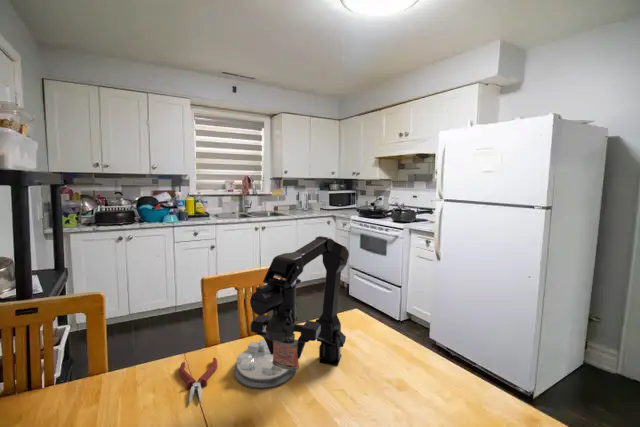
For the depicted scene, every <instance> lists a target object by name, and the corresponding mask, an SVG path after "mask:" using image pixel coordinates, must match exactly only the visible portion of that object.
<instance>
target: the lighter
mask: <svg viewBox="0 0 640 427" xmlns="http://www.w3.org/2000/svg"><path fill="white" fill-rule="evenodd" d="M295 335H296V333H295V332H294V333H293V335H292V337H290V336H288V337H287V338H286V339H285V340H284V341H283V342H278V341H274V340H272V341H273V365H275V366H277V367H280V368H282V369H286V370H292V371H295V370H296V371H297V370H299V368H300V363H299V359H298V339H295V338H296V336H295Z"/></svg>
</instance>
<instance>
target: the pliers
mask: <svg viewBox="0 0 640 427" xmlns="http://www.w3.org/2000/svg"><path fill="white" fill-rule="evenodd" d="M185 368H186V362H185V361H183V362H181V364H180V365H179V369H178V374H179V376H180V378H181V379H182V380H183V381H184V382H185V389H186V390H187V391H188V390H190V391H189V396H188V398H189V400H188V405H189V406H190V405H191V403H192V401H193V398H194V396H195V392H197V398H198V400H199V403H201V402H202V395H203V392H202V391H203V390H202V387H207V386H208V380H209V379H210V378H211V376H213V374H214V373H215V372H216V371H217V369H218V359H217V358H216V357H212V364H211V365H210V367H209V368H208V369H207V370H206V371H205V372H204V373H203V374H202V375H201V376H200V377H199V378H198V379H197V380H196V379H195V378H194V377H193V376H192V375H191V374H190V373H188V371H186V370H185Z"/></svg>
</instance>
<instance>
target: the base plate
mask: <svg viewBox="0 0 640 427" xmlns="http://www.w3.org/2000/svg"><path fill="white" fill-rule="evenodd" d="M296 372H297V370H295V371H292V370H291V371H290V372H289V373H288V374H287V375H285V376H284V377H282V378H280V379H277V380H274V381H270V382H253V381H249V380H246V379H244V378H243V377H241V376H240V375H239V373H238V371H237V362H236V363H235V365H234V366H233V376H234V379H235V380H236V381H237V383H238V384H240V385H242V386H243V387H246V388H247V389H248V388H249V389H253V390H268V389H273V388H277V387H279V386H282V385H284V384H287V382H289V381H290V380H291V379H292V378H293V377H294V376H295V375H296Z"/></svg>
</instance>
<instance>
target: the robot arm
mask: <svg viewBox="0 0 640 427" xmlns="http://www.w3.org/2000/svg"><path fill="white" fill-rule="evenodd" d="M319 256H321V257H322V264H323V266H324V269H325V271H326V273H325V281H324V283H325V284H324V291H323V301H322V302H323V303H322V310H321V311H322V312H321V315H320V316H319V317H318V318H317V319H315V321H314V320H306V321H305V323H304V324H298V323H297V321H298V316H297V307H298V302H297V285H298V284H301V282H302V280H301V279H300V278H298V277H299V276H300V275H301V274H303V272H304V268H305V266H306V265H308V264H309V263H310V262H312V261H314V260H315V259H317V258H318V257H319ZM349 256H350V253H349V250H348V249H347V247H346V246H344V245H342V244H341V243H339V242H336V241H335V240H334V239H333V238H331V237H329V236H322V235H319V236H316V237H315V238H314V240H312V241H310V242H309V243H307V244H305V245H303V246H301V247H300V248H299V249H297V250H295V251H293V252H286V253H282V254H279V255H276V256H274V258H273V259H272V260H271V263H270V265H269V268H268V270H267V271H266V274H265V275H264V278H263V281H262V282H263V283H264V285H260V286H256V288H255V292H253V293H252V295H251V296H250V299H249V304H250V307H251V308H250V309H252V311H253V313H255V314H256V317H255V318H254V319H253V320H252V321H251V322H250V325H249V326H250V330H249V331H250V332H251V333H256V335H257V336H260V337H262V339H264V340H265V341H266V343H267V346H268V348H269V351H270V353H271V355H272V354H273V341H272V340H274V341H278V342H283V341H284V340H285V339H286V338H287V337H288V336H290V337H292V335H293V333H294V334H295V332H296V333H299V334H300V336H299V337H298V338H297V340H298V360H300V359H301V357H302V353H303V352H304V348H305V346H306V343H309V342H310V341H311V342H315V341H317V342H320V344H319V346H318V348H319V350H318V353H319V354H318V357H319V361H318V362H319V364H326V365H332V366H339V363H340V361H341V358H342V354H341V348H343V347H344V344H345V343H346V338H347V336H346V335H345V334H344V333H343V332H342V325H341V321H340V319H339V317H338V306H339V297H340V287H341V277H342V276H341V275H342V272H343V270H344V269H345V267H346V266H347V264H348V259H349ZM276 277H277V278H276ZM280 278H281V279H280ZM271 311H272V316H271V315H267V314H268V313H270V312H271Z"/></svg>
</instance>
